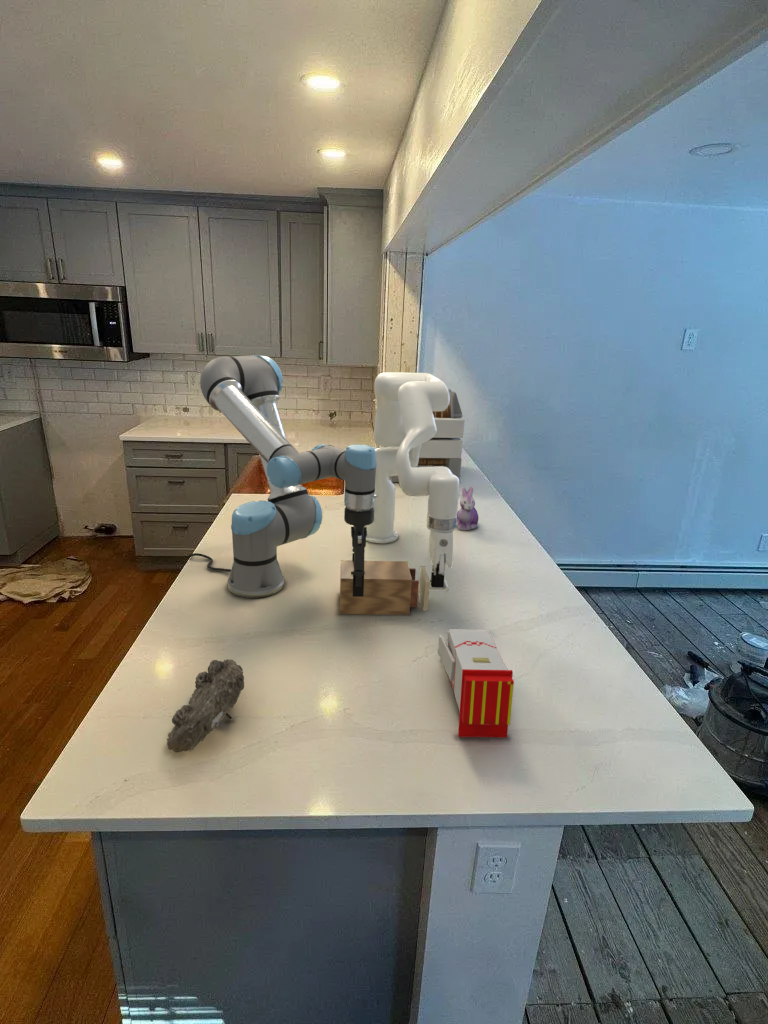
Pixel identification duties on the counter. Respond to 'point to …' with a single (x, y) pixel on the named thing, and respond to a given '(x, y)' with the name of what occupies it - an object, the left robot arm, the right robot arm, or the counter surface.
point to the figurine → (467, 511)
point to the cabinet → (377, 588)
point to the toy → (478, 682)
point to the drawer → (422, 588)
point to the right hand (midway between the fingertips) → (437, 586)
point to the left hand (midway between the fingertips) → (357, 585)
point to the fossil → (206, 705)
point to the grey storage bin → (444, 440)
